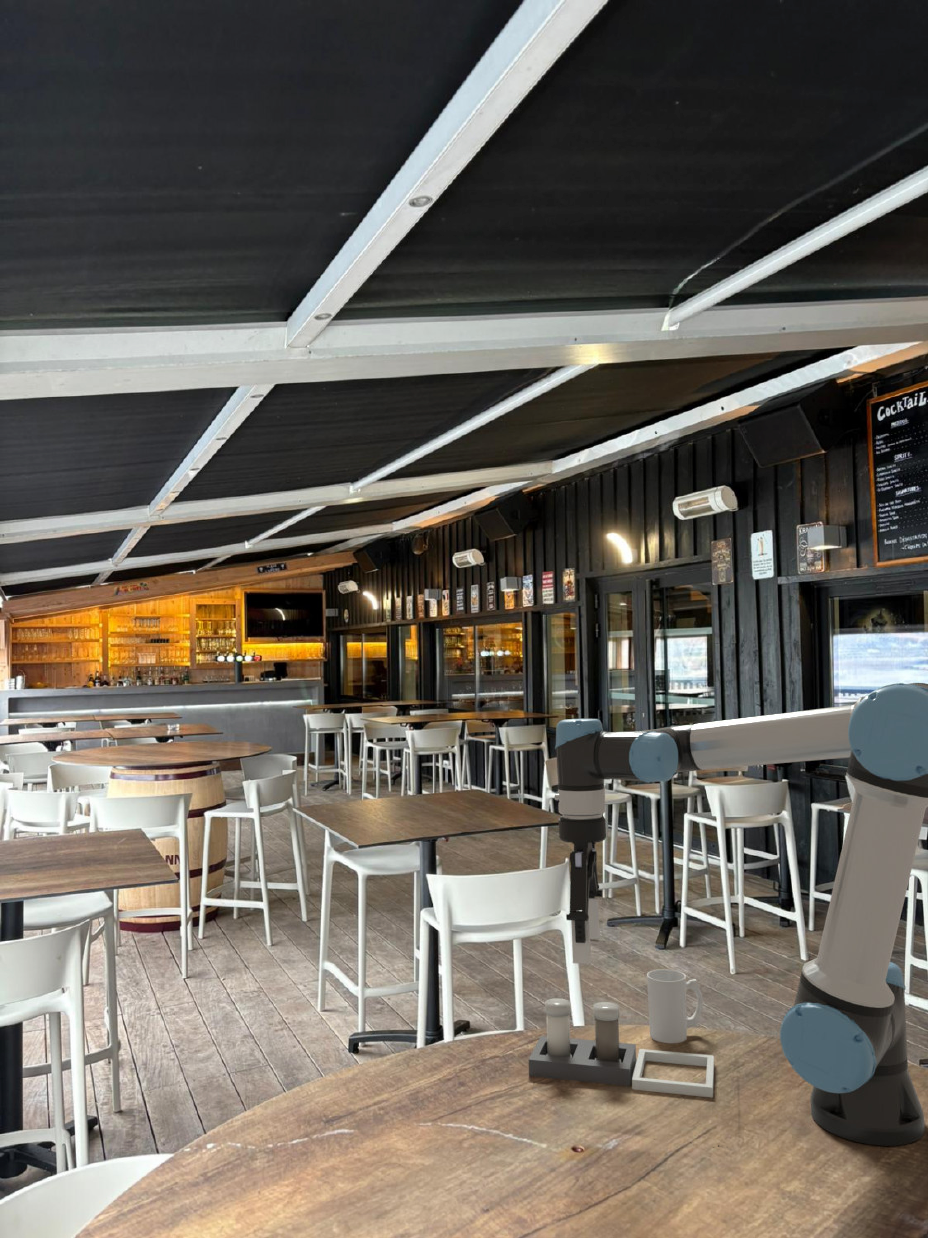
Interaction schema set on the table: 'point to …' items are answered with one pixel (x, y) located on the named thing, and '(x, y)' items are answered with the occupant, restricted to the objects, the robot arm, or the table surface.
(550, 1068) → the block
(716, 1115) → the table surface
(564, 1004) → the peg
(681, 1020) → the mug
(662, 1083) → the tray
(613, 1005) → the fuse
